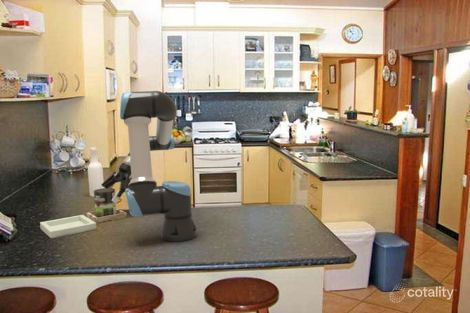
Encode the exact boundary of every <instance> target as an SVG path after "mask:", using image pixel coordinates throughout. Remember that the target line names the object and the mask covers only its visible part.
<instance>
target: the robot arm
mask: <svg viewBox="0 0 470 313" xmlns="http://www.w3.org/2000/svg"><path fill="white" fill-rule="evenodd" d="M120 97H121V98H120V113H119V118H120V120H122V121H123V124H124V125H125V126H127V132H128V144H129V145H128V147H129V152H128V154H127V155H126V156H125V158H124V160H122V163H121V164H120V165H119V167H118V172H117V171H114V172H113V173H112V174H111V175H110V176H109V177H108V178H107V179H105V181H104V183H102V186H103V188H111V187H112V186H113V185H114V184H116V183H120V184H119V186H120V187H119V189H117V191H116V192H115V196H114V197H113V199H112V200H111V201H113V202H114V203H115V204H116V205H117V202H118V201H119V200H120V198H121V197H122V195H123V194H124V193H125V195H126V196H125V197H126V202H127V206H128V210H129V215H131V216H132V217H143V216H144V217H145V216H154V215H164V218H163V219H164V220H163V223H162V228H161V231H160V234H161V235H160V237H161V239H162V240H163V241H167V242H183V241H189V240H192V239H195V238H196V237H197V236H198V230H197V229H198V228H197V226H196V225H195V222H194V219H193V209H192V193H191V186H190V185H189V184H188V183H186V182H183V181H175V180H174V181H173V180H172V181H171V180H169V181H167V180H166V181H163V182H162V184H161V185H157V183H158V182H157V181H156V180H155V179H154V178H153V167H152V166H153V165H152V158H151V157H152V156H151V152H153V151H156V152H157V151H168V150H174V149H175V136H174V135H173V134H172V133H173V132H172V131H173V125H174V120H175V118H176V117H177V114H178V113H177V112H178V110H177V105H176V103H175V101H174V100H173V98H172V97H170V95H168V94H166V93H165V92H163V91H159V90H151V91H150V90H149V91H146V90H145V91H126V92H123V93H122V94H121V96H120ZM154 118H156V132H155V134H156V135H151V136H150V134H149V133H150V132H149V125H150V124H151V122H152V119H154Z"/></svg>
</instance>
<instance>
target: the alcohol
mask: <svg viewBox="0 0 470 313" xmlns="http://www.w3.org/2000/svg"><path fill="white" fill-rule="evenodd" d="M89 149H90V150H89V152H90V162H89V164H88V165H87V178H88V188H89V189H88V192H89V196H90V198H94V190H97V189H102V188H103V186H102V183H104V182H105V181H104V169H103V164H102V163H100V160H99V157H98V149H97V146H96V147H89Z"/></svg>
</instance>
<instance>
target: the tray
mask: <svg viewBox="0 0 470 313" xmlns="http://www.w3.org/2000/svg"><path fill="white" fill-rule="evenodd" d="M39 224H40V225H39V228H40V230H41V231H42V232H43V233H45V235H46V236H48V238H50V239H51V240H52V239H55V238H61V237H66V236H71V235H75V234H76V235H77V234H81V233H86V232H91V231H96V229H97V223H95V222H94V221H92V220H90V219H89V218H87V217H86V216H85V215H84V214H79V215H73V216H69V217H63V218H57V219H52V220H46V221H40V222H39Z"/></svg>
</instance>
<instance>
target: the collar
mask: <svg viewBox="0 0 470 313" xmlns="http://www.w3.org/2000/svg"><path fill="white" fill-rule="evenodd" d="M116 213H117V214H114V215H108V216H103V217H96V211H95V210H92V211H87V212H85V214H86V217H87V218H89V219H90V220H92V221H94V222H95V223H96V224H100V223H99V222H101V223H104V222H103V221H107V222H109V221H108V220H112V219H117V218H121V217H127V212H126V211H123V210H122V209H120V208H117V207H116ZM127 218H128V217H127ZM117 220H118V219H117ZM112 221H113V220H112Z"/></svg>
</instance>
